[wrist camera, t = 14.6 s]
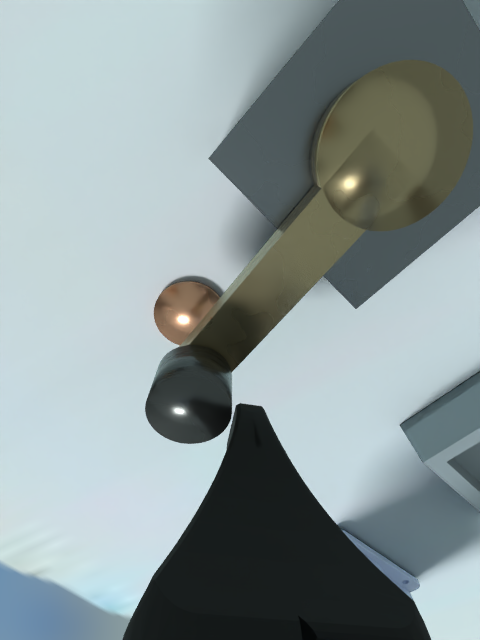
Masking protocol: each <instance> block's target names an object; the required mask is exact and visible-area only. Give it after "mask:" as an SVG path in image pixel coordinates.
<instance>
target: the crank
mask: <svg viewBox="0 0 480 640" xmlns="http://www.w3.org/2000/svg"><path fill="white" fill-rule="evenodd" d="M472 139H473V118H472V111H471V107H470V104H469V100H468V98H467V96H466V94H465V91H464V90H463V88H462V87H461V85H460V84H459V82H458V81H457V80H456V79H455V78H454V77H453V76H452V75H451V74H450V73H449V72H447V71H446V70H445V69H443V68H441V67H439V66H437V65H435V64H433V63H430V62H426V61H421V60H401V61H396V62H391V63H388V64H386V65H383V66H380V67H378V68H376V69H374V70H373V71H371V72H369V73H367V74H366V75H364V76H362V77H361V78H359V79H358V80H356V81H354V82H353V83H352V84H350V85H349V86H347V87H346V88H345V89H344V90H343V91H342V92H341V93H339V94H338V96H337V97H336V98H335V99H334V100H333V101H332V102H331V104H330V105H329V107H328V108H327V109H326V111H325V112H324V114H323V116H322V118H321V120H320V122H319V124H318V127H317V129H316V131H315V135H314V138H313V142H312V148H311V158H310V165H311V175H312V180H313V183H314V186H313V187H312V188H311V189H310V191H309V192H308V193H307V194H306V195H305V197H304V198H303V199H302V200H301V201H300V203H299V204H298V205H297V206H296V207H295V209H294V210H293V211H292V212H291V213H290V215H289V216H288V217H287V218H286V219H285V221H284V222H283V223H282V224H281V225H280V227H279V228H278V229H277V230H276V231H275V233H274V234H273V235H272V236H271V237H270V239H269V240H268V241H267V242H266V243H265V245H264V246H263V247H262V248H261V249H260V250H259V252H258V253H257V254H256V255H255V256H254V258H253V259H252V260H251V261H250V262H249V264H248V265H247V266H246V267H245V268H244V270H243V271H242V272H241V273H240V274H239V276H238V277H237V278H236V279H235V280H234V282H233V283H232V284H231V285H230V286H229V288H228V289H227V290H226V291H225V292H224V294H223V295H222V296H221V297H220V298H219V300H218V301H217V302H216V303H215V304H214V306H213V307H212V308H211V309H210V310H209V312H208V313H207V314H206V315H205V316H204V318H203V319H202V320H201V321H200V322H199V324H198V325H197V326H196V327H195V328H194V330H193V331H192V332H191V333H190V334H189V336H188V337H187V338H186V339H185V340H184V342H183V343H182V344H181V345H180V346H179V347H178V348H176V349H174V350H172V351H170V352H169V353H168V354H166V355H165V356H164V358H163V359H162V360H161V362H160V364H159V367H158V370H157V372H156V375H155V378H154V381H153V384H152V387H151V389H150V392H149V395H148V398H147V401H146V406H145V411H146V416H147V419H148V421H149V423H150V425H151V426H152V427H153V428H154V429H155V430H156V431H157V432H158V433H159V434H160V435H162V436H164V437H165V438H167V439H170V440H172V441H175V442H179V443H187V444H194V443H202V442H206V441H209V440H211V439H213V438H215V437H217V436H218V435H220V434H221V433H222V432H223V431H224V430H225V429H226V427H227V426H228V424H229V422H230V419H231V414H232V373H231V372H232V371H233V370H234V369H235V368H236V367H237V366H238V365H239V364H240V363H241V362H242V361H243V360H244V359H245V358H246V357H247V356H248V355H249V353H250V352H251V351H252V350H253V349H254V348H255V347H256V346H257V345H258V344H259V343H260V342H261V341H262V340H263V339H264V338H265V337H266V335H267V334H268V333H269V332H270V331H271V330H272V329H273V328H274V327H275V326H276V325H277V324H278V323H279V322H280V321H281V320H282V319H283V318H284V316H285V315H286V314H287V313H288V312H289V311H290V310H291V309H292V308H293V307H294V306H295V305H296V304H297V303H298V302H299V301H300V300H301V298H302V297H303V296H304V295H305V294H306V293H307V292H308V291H309V290H310V289H311V288H312V287H313V286H314V285H315V284H316V283H317V282H318V281H319V279H320V278H321V277H322V276H323V275H324V274H325V273H326V272H327V271H328V270H329V269H330V268H331V267H332V266H333V265H334V264H335V263H336V261H337V260H338V259H339V258H340V257H341V256H342V255H343V254H344V253H345V252H346V251H347V250H348V249H349V248H350V247H351V246H352V245H353V243H354V242H355V241H356V240H357V239H358V238H359V237H360V236H361V235H362V234H363V233H364V232H365V231H366V230H369V231H391V230H397V229H400V228H403V227H406V226H409V225H411V224H413V223H416V222H417V221H419V220H421V219H422V218H424V217H426V216H427V215H428V214H430V213H431V212H432V211H434V210H435V209H436V208H437V207H438V206H439V205H440V204H441V203H442V202H443V201H444V200H445V199H446V198H447V197H448V195H449V194H450V193H451V191H452V190H453V189H454V187H455V186H456V184H457V182H458V181H459V179H460V177H461V175H462V173H463V171H464V169H465V167H466V164H467V161H468V158H469V155H470V150H471V146H472Z"/></svg>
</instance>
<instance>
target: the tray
mask: <svg viewBox="0 0 480 640" xmlns="http://www.w3.org/2000/svg"><path fill="white" fill-rule="evenodd" d="M400 426H401V428H402V430H403V431H404V433H405V435H406V436H407V438H408V439H409V441H410V443H411V444H412V446H413V447H414V449H415V451H416V452H417V454H418V455H419V457H420V459H421V460H422V462H423V463H424V464H425V465H426V466H427V467H429V468H430V469H431V470H432V471H433V472H434V473H435V474H437V475H438V476H439V477H440V478H441V479H442V480H443V481H445V482H446V483H447V484H448V485H449V486H450V487H451V488H453V489H454V490H455V491H456V492H457V493H458V494H459V495H461V496H462V497H463V498H464V499H465V500H466V501H467V502H469V503H470V504H471V505H472V506H473V507H474V508H475V509H477V510H478V511H479V512H480V372H479V373H477V374H476V375H474V376H473V377H471V378H470V379H468V380H467V381H465V382H464V383H462V384H461V385H459V386H458V387H456V388H455V389H453V390H452V391H450V392H449V393H447V394H446V395H444V396H443V397H441V398H440V399H438V400H437V401H435V402H434V403H432V404H431V405H429V406H428V407H426V408H425V409H423V410H422V411H420V412H419V413H417V414H416V415H414V416H413V417H411V418H410V419H408V420H407V421H405V422H404V423H402V424H401V425H400Z"/></svg>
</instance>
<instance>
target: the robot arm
mask: <svg viewBox="0 0 480 640" xmlns="http://www.w3.org/2000/svg"><path fill="white" fill-rule="evenodd" d="M419 587H420V584H419V581H418V580H417V579H416V578H415V577H413V576H412V575H410V574H409V573H407V572H406V571H404V570H403V569H401V568H400V567H398V566H397V565H395V564H394V563H392V562H391V561H389V560H388V559H386V558H385V557H383V556H382V555H380V554H379V553H377V552H376V551H374V550H373V549H371V548H370V547H368V546H367V545H365V544H364V543H362V542H361V541H359V540H358V539H356V538H355V537H353V536H352V535H350V534H349V533H347V532H346V531H344V530H341V529H340V528H339V527H338V525H337V524H336V523H335V522H334V521H333V520H332V519H331V517H330V516H329V515H328V514H327V512H326V511H325V510H324V509H323V507H322V506H321V505H320V503H319V502H318V501H317V499H316V498H315V497H314V495H313V494H312V493H311V491H310V490H309V488H308V487H307V486H306V484H305V483H304V481H303V480H302V478H301V477H300V475H299V473H298V472H297V470H296V469H295V467H294V466H293V464H292V462H291V461H290V459H289V457H288V455H287V454H286V452H285V450H284V448H283V447H282V445H281V443H280V441H279V439H278V437H277V436H276V434H275V432H274V430H273V428H272V426H271V423H270V421H269V419H268V417H267V415H266V413H265V410H264V409H263V407H262V406H255V405H248V404H241V403H240V404H238V405H236V408H235V413H234V417H233V421H232V425H231V429H230V434H229V438H228V442H227V451H226V454H225V456H224V458H223V461H222V463H221V466H220V468H219V470H218V472H217V475H216V477H215V479H214V481H213V483H212V485H211V487H210V489H209V491H208V493H207V494H206V496H205V498H204V500H203V502H202V503H201V505H200V507H199V509H198V510H197V512H196V514H195V515H194V517H193V519H192V520H191V522H190V523H189V525H188V527H187V528H186V530H185V531H184V533H183V534H182V536H181V537H180V539H179V540H178V542H177V543H176V545H175V546H174V548H173V549H172V551H171V552H170V553H169V555H168V556H167V557H166V559H165V560H164V562H163V563H162V564H161V566H160V567H159V568H158V570H157V571H156V573H155V574H154V575H153V577H152V579H151V581H150V583H149V585H148V587H147V589H146V591H145V593H144V595H143V597H142V598H141V600H140V602H139V604H138V606H137V608H136V610H135V612H134V614H133V616H132V618H131V620H130V622H129V624H128V627H127V629H126V632H125V634H124V637H123V640H431V638H430V635H429V633H428V630H427V628H426V625H425V623H424V621H423V619H422V617H421V615H420V613H419V611H418V609H417V607H416V604H415V602H414V601H413V598H412V596H411V593H410V592H412V591H414V590H416V589H418V588H419Z"/></svg>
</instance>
